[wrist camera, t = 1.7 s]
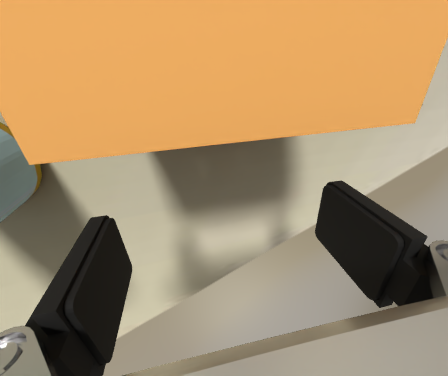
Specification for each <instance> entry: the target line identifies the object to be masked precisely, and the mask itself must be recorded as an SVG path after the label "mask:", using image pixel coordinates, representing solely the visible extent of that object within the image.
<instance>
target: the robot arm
mask: <svg viewBox="0 0 448 376" xmlns="http://www.w3.org/2000/svg"><path fill="white" fill-rule="evenodd" d="M315 234H316V237H317V238H318V240H319V241H320V242H321V243H322V244H323V245H324V247H325V248H326V249H327V250H328V251H329V253H330V254H331V255H332V256H333V257H334V259H336V261H337V262H338V263H339V264H340V266H341V267H342V268H343V269H344V270H345V272H346V273H347V274H348V275H349V276H350V277H351V279H352V280H353V281H354V282H355V283H356V285H357V286H358V287H359V288H360V289H361V290H362V291H363V293H364V294H365V295H366V296H367V297H368V298H369V299H371V300H373V301H374V302H375V303H376V304H377V306H378V307H379V308H381V307H385V306H389V305H392V303H393V301H394V302H395V303H396V304H397V305H398V307H395V308H390V309H386V310H382V311H378V312H374V313H370V314H365V315H361V316H357V317H353V318H349V319H345V320H341V321H336V322H332V323H328V324H324V325H320V326H316V327H312V328H308V329H304V330H300V331H296V332H292V333H288V334H284V335H279V336H275V337H271V338H267V339H263V340H260V341H255V342H252V343H247V344H244V345H239V346H235V347H231V348H227V349H223V350H219V351H215V352H212V353H208V354H204V355H200V356H196V357H192V358H188V359H184V360H180V361H176V362H172V363H168V364H164V365H160V366H156V367H152V368H149V369H145V370H141V371H138V372H134V373H130V374H127V375H123V376H448V241H443V240H441V241H434V242H432V243H431V244H430V245H429V247H428V246H426V245H425V244H424V242H425V241H426V239H427V236H426V235H424V234H423V233H421V232H420V231H418V230H417V229H415V228H414V227H412V226H410V225H409V224H408V223H406V222H404V221H403V220H401V219H400V218H398V217H397V216H395V215H394V214H392V213H391V212H389V211H388V210H386V209H384V208H383V207H381V206H380V205H378V204H377V203H375V202H374V201H372V200H371V199H369V198H368V197H366V196H365V195H363V194H362V193H360V192H359V191H357V190H355V189H354V188H352V187H351V186H349V185H348V184H346V183H345V182H343V181H334V182H329V183H327V184H326V186H324V188H323V192H322V198H321V203H320V208H319V213H318V219H317V224H316V229H315ZM131 274H132V265H131V262H130V259H129V256H128V254H127V251H126V249H125V246H124V243H123V241H122V238H121V235H120V233H119V230H118V228H117V225H116V222H115V220H114V219H113V218H109V217H108V216H107V215H106V216H99V217H92V218H91V219H90V220H89V221H88V223H87V225H86V226H85V228H84V230H83V231H82V233H81V234H80V236H79V238H78V239H77V241H76V243H75V244H74V246H73V248H72V249H71V251H70V253H69V254H68V256H67V257H66V259H65V261H64V262H63V264H62V266H61V267H60V269H59V271H58V272H57V274H56V276H55V277H54V279H53V280H52V282H51V284H50V285H49V287H48V289H47V290H46V292H45V294H44V295H43V297H42V298H41V300H40V302H39V303H38V305H37V307H36V308H35V310H34V312H33V313H32V315H31V317H30V318H29V320H28V322H27V323H26V325H25V326H18V327H13V328H10V329H8V330H5V331H3V332H1V333H0V376H102V375H103V373H104V369H105V365H106V363H109V362H110V360H111V358H112V355H113V351H114V347H115V342H116V338H117V334H118V330H119V325H120V321H121V317H122V313H123V308H124V304H125V300H126V295H127V291H128V287H129V283H130V278H131Z"/></svg>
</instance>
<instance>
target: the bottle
mask: <svg viewBox="0 0 448 376" xmlns="http://www.w3.org/2000/svg"><path fill="white" fill-rule="evenodd" d="M41 178H42V172H41V167H40V164H34V165H29V163H28V161H27V160H26V158H25V156H24V154H23V152H22V150H21V149H20V147H19V145H18V143H17V141H16V140H15V138H14V136H13V134H12V132H11V130H10V129H9V128H8V127H7V126H5V125H4V124H2V123H0V222H2V221H3V220H4V219H5V218H6V217H7V216H9V215H10V214H11V213H12V212H13V211H15V210H16V209H17V208H18V207H19V206H20V205H22V204H23V203H24V202H25V201H26V200H28V199H29V197H31V196H32V195H33V194H34V192H35V191H36V190H37V189H38V188H39V186H40V182H41Z"/></svg>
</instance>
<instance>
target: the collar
mask: <svg viewBox="0 0 448 376" xmlns="http://www.w3.org/2000/svg"><path fill="white" fill-rule="evenodd" d="M447 37H448V0H0V112H1V114H2V116H3V118H4V120H5V121H6V123H7V125H8V127H9V129H10V130H11V132H12V134H13V136H14V138H15V140H16V141H17V143H18V145H19V147H20V149H21V150H22V152H23V154H24V156H25V158H26V160H27V161H28V163H29V165H34V164H43V163H52V162H62V161H71V160H80V159H89V158H98V157H108V156H117V155H126V154H135V153H144V152H153V151H163V150H172V149H181V148H190V147H199V146H209V145H218V144H227V143H236V142H245V141H254V140H264V139H273V138H282V137H291V136H300V135H309V134H319V133H328V132H337V131H346V130H355V129H365V128H374V127H383V126H392V125H401V124H410V123H415V122H416V119H417V116H418V114H419V111H420V108H421V106H422V103H423V100H424V98H425V95H426V93H427V90H428V87H429V85H430V82H431V79H432V77H433V74H434V72H435V69H436V66H437V64H438V61H439V58H440V56H441V53H442V50H443V48H444V45H445V43H446V40H447Z"/></svg>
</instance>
